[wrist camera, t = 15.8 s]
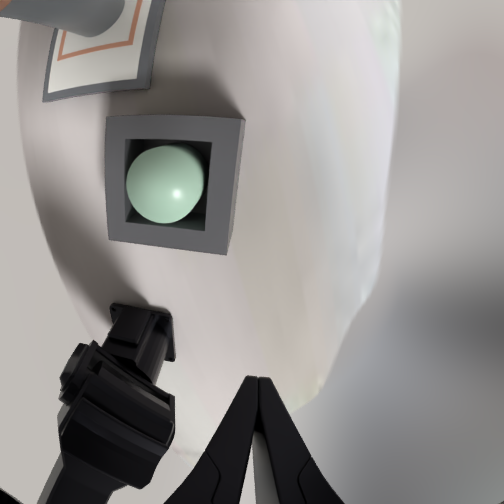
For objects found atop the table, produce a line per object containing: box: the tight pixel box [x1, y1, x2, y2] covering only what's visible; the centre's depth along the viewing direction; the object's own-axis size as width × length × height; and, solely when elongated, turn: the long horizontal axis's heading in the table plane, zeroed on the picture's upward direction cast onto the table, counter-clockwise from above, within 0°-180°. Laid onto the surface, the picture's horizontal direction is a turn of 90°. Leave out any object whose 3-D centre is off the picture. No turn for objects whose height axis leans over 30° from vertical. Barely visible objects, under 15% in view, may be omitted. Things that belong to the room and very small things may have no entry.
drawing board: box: [42, 0, 166, 102], centre depth 12 cm, size 14×10×1 cm
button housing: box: [105, 115, 246, 255], centre depth 17 cm, size 8×8×4 cm
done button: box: [126, 143, 209, 223], centre depth 16 cm, size 4×4×3 cm
